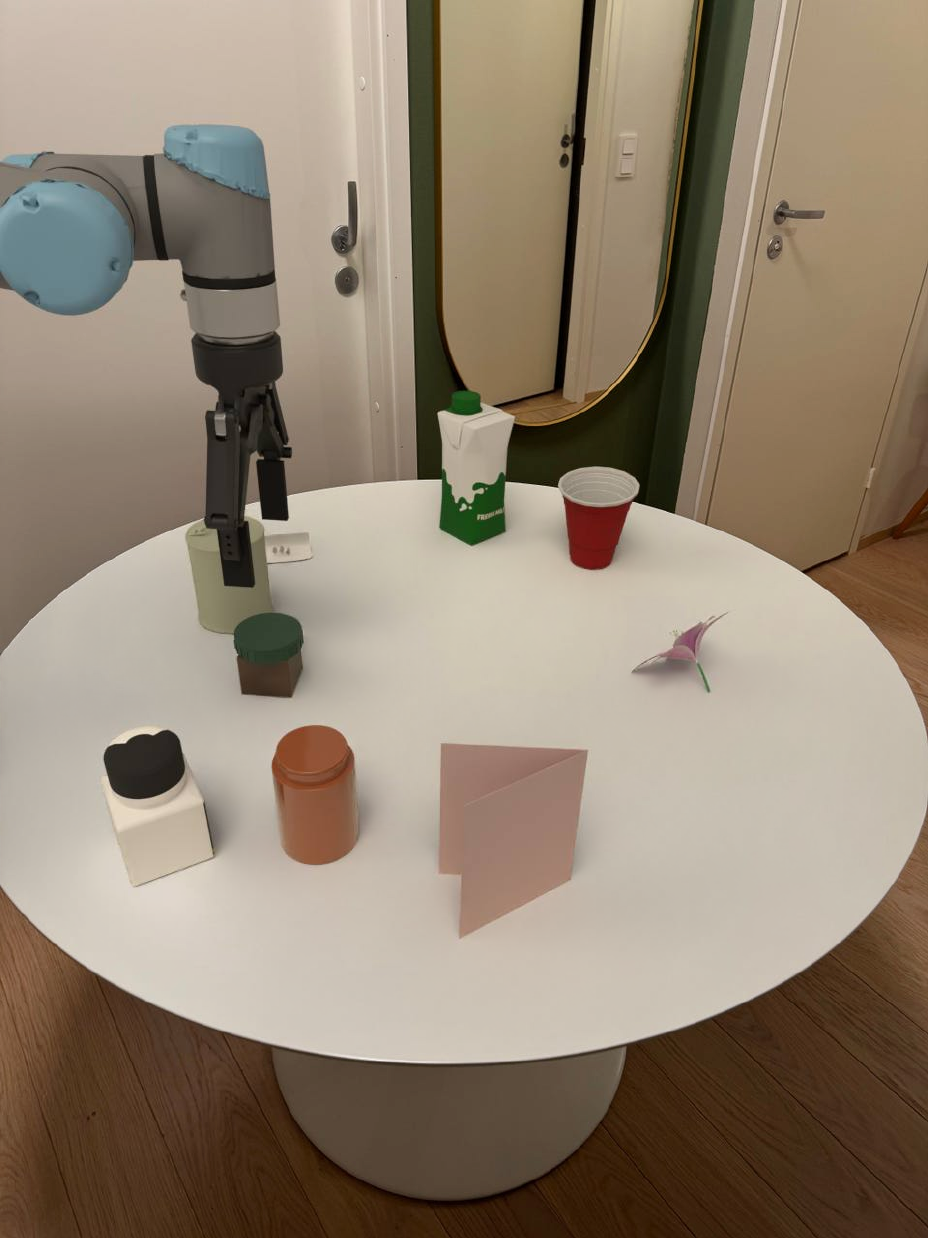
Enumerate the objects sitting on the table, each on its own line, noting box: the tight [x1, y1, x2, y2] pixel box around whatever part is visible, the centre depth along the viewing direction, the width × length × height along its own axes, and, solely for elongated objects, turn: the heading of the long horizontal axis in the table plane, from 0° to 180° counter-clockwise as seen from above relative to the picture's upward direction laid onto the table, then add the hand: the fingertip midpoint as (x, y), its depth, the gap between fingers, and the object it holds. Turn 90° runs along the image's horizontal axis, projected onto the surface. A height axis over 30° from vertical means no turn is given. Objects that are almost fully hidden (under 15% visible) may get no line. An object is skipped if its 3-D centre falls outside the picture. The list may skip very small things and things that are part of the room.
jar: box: [270, 724, 360, 866], centre depth 76 cm, size 7×7×10 cm
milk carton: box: [437, 390, 516, 546], centre depth 124 cm, size 9×9×20 cm
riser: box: [236, 649, 304, 698], centre depth 97 cm, size 6×6×5 cm
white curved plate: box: [264, 531, 313, 564], centre depth 121 cm, size 4×8×3 cm, turn 103°
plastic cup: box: [557, 466, 640, 571], centre depth 120 cm, size 11×11×12 cm
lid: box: [232, 612, 305, 664], centre depth 95 cm, size 7×7×2 cm
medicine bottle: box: [100, 725, 215, 887], centre depth 74 cm, size 7×7×12 cm
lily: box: [632, 610, 731, 693], centre depth 99 cm, size 12×12×10 cm
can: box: [184, 515, 275, 635], centre depth 106 cm, size 9×9×12 cm
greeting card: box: [438, 742, 589, 940], centre depth 69 cm, size 11×7×15 cm, turn 88°
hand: (258, 550), depth 87 cm, fingers open, 13 cm apart
